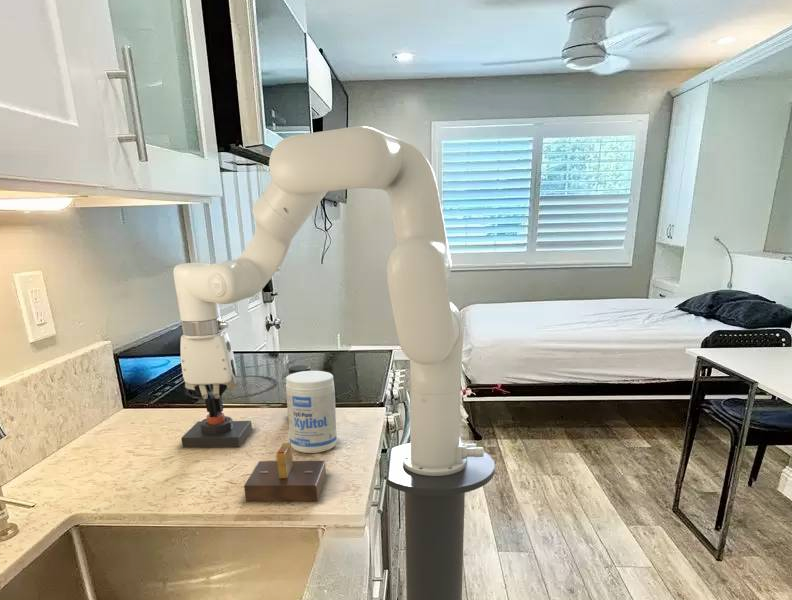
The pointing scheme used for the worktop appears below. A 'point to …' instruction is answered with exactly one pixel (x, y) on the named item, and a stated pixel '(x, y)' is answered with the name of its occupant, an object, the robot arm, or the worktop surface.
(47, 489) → the worktop surface
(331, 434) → the supplement tub
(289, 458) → the thumb turn
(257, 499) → the plate
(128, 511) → the worktop surface
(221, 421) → the bell button
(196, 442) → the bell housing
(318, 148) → the robot arm
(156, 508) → the worktop surface
